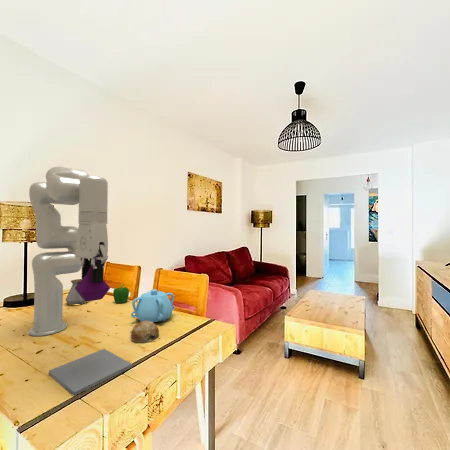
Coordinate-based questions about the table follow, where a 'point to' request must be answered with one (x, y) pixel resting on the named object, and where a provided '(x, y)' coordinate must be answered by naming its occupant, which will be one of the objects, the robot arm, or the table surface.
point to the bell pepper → (121, 294)
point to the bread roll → (144, 332)
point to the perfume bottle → (91, 287)
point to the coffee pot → (74, 294)
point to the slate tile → (89, 371)
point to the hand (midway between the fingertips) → (92, 280)
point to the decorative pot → (153, 306)
